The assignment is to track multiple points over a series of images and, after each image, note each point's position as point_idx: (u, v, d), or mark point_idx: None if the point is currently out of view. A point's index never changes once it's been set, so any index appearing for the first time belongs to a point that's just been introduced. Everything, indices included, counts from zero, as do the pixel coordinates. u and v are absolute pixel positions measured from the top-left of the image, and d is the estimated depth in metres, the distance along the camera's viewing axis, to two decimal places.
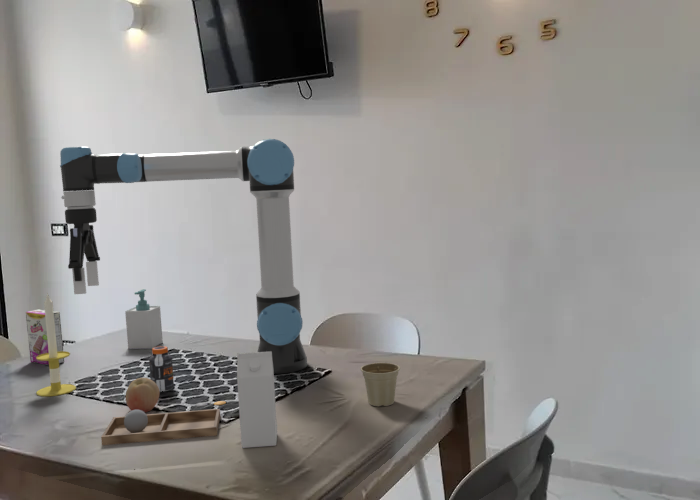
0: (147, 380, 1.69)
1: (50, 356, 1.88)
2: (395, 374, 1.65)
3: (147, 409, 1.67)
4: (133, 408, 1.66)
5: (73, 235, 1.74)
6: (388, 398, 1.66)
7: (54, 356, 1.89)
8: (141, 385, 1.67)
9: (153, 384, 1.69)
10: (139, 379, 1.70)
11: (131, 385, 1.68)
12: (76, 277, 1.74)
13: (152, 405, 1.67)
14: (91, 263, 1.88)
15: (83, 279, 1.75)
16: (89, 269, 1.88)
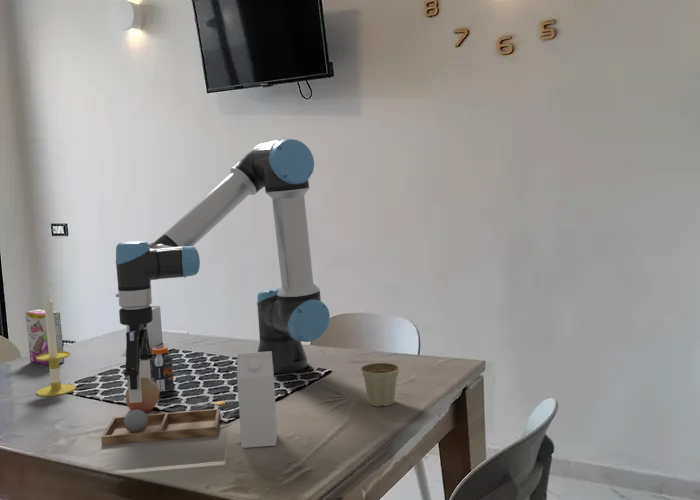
0: (147, 380, 1.69)
1: (50, 356, 1.88)
2: (395, 374, 1.65)
3: (147, 409, 1.67)
4: (133, 408, 1.66)
5: (129, 339, 1.61)
6: (388, 398, 1.66)
7: (54, 356, 1.89)
8: (141, 385, 1.67)
9: (153, 384, 1.69)
10: None
11: None
12: (132, 385, 1.61)
13: (152, 405, 1.67)
14: (144, 362, 1.75)
15: (139, 387, 1.62)
16: (141, 368, 1.75)
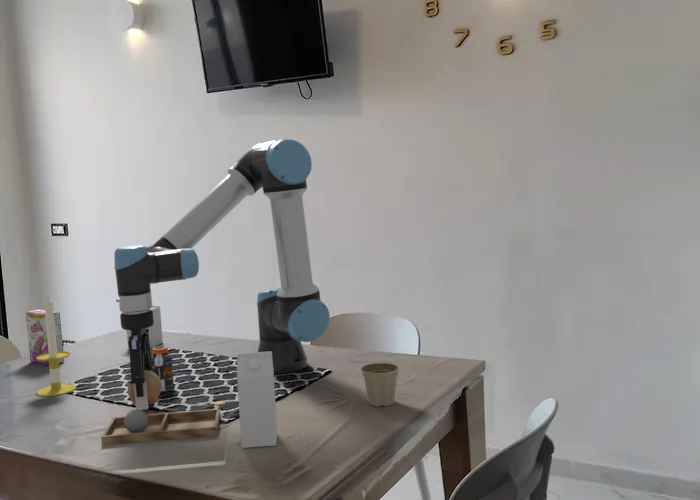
0: (149, 373, 1.69)
1: (50, 356, 1.88)
2: (395, 374, 1.65)
3: (149, 402, 1.67)
4: None
5: (132, 348, 1.62)
6: (388, 398, 1.66)
7: (54, 356, 1.89)
8: None
9: (155, 376, 1.69)
10: None
11: None
12: (138, 393, 1.64)
13: (154, 397, 1.67)
14: None
15: (145, 394, 1.65)
16: None
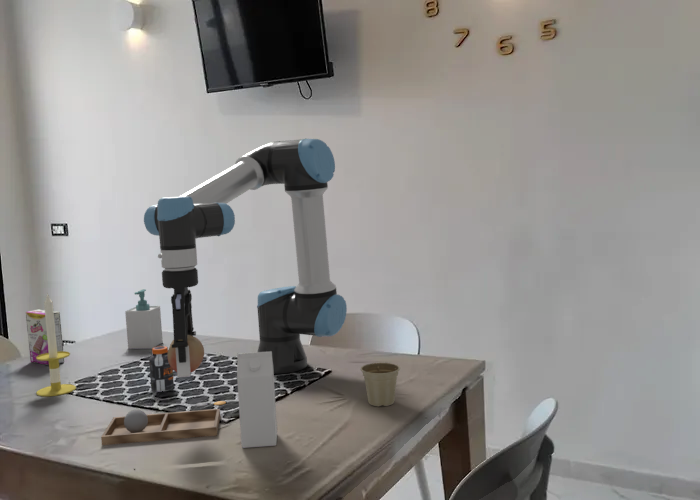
0: (191, 337, 1.53)
1: (50, 356, 1.88)
2: (395, 374, 1.65)
3: (191, 369, 1.51)
4: (176, 367, 1.51)
5: (176, 308, 1.46)
6: (388, 398, 1.66)
7: (54, 356, 1.89)
8: None
9: (198, 341, 1.53)
10: None
11: None
12: (180, 358, 1.48)
13: (197, 364, 1.52)
14: None
15: (188, 360, 1.49)
16: None
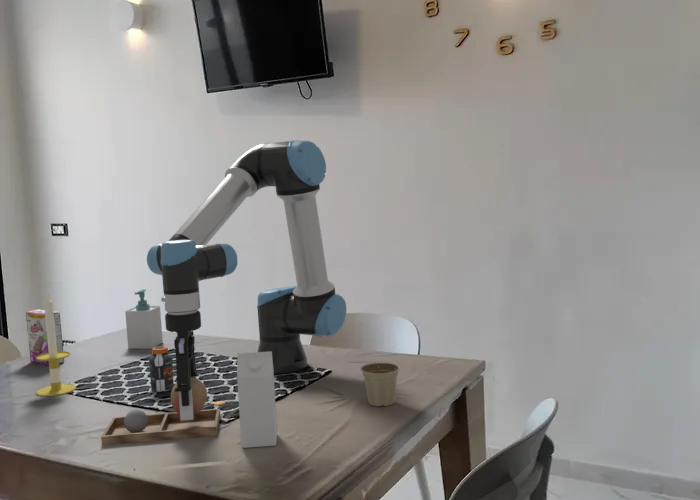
0: (194, 379, 1.54)
1: (50, 356, 1.88)
2: (395, 374, 1.65)
3: (194, 411, 1.52)
4: (179, 410, 1.52)
5: (179, 352, 1.47)
6: (388, 398, 1.66)
7: (54, 356, 1.89)
8: None
9: (200, 384, 1.54)
10: None
11: None
12: (184, 402, 1.49)
13: (199, 407, 1.53)
14: None
15: (191, 403, 1.50)
16: None
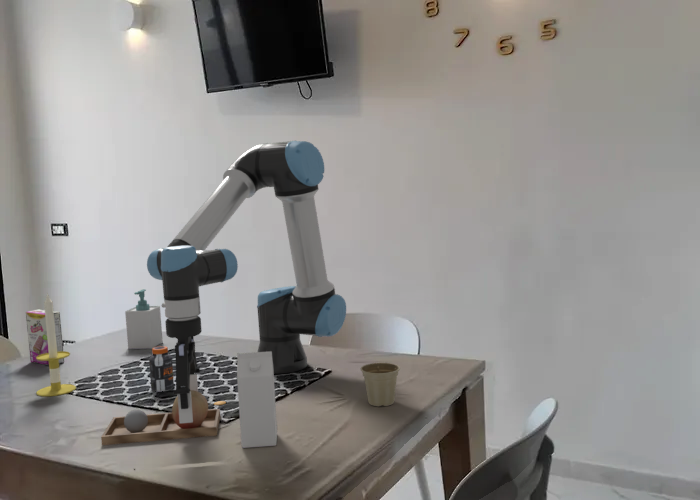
0: (195, 393, 1.55)
1: (50, 356, 1.88)
2: (395, 374, 1.65)
3: (196, 425, 1.53)
4: (181, 424, 1.52)
5: (179, 354, 1.47)
6: (388, 398, 1.66)
7: (54, 356, 1.89)
8: None
9: (202, 397, 1.55)
10: None
11: None
12: (183, 404, 1.47)
13: (201, 420, 1.53)
14: (191, 377, 1.61)
15: (190, 406, 1.48)
16: None
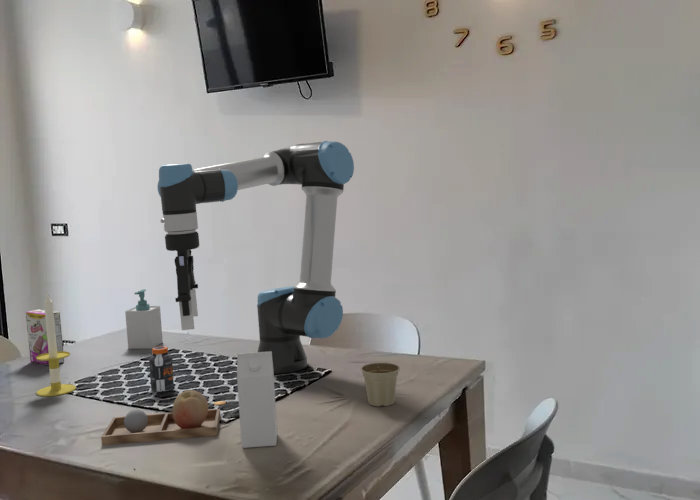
0: (195, 393, 1.55)
1: (50, 356, 1.88)
2: (395, 374, 1.65)
3: (196, 425, 1.53)
4: (181, 424, 1.52)
5: (179, 264, 1.55)
6: (388, 398, 1.66)
7: (54, 356, 1.89)
8: (190, 399, 1.53)
9: (202, 397, 1.55)
10: (186, 392, 1.56)
11: (178, 399, 1.54)
12: (184, 311, 1.55)
13: (201, 421, 1.53)
14: (189, 292, 1.69)
15: (192, 313, 1.56)
16: None
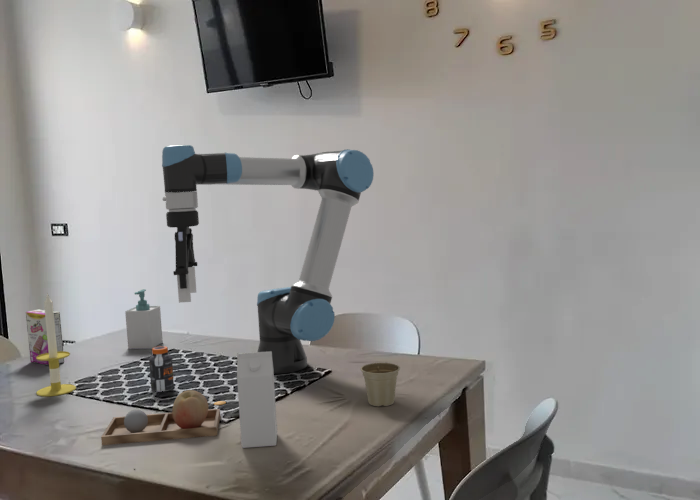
0: (195, 393, 1.55)
1: (50, 356, 1.88)
2: (395, 374, 1.65)
3: (196, 425, 1.53)
4: (181, 424, 1.52)
5: (178, 239, 1.63)
6: (388, 398, 1.66)
7: (54, 356, 1.89)
8: (190, 399, 1.53)
9: (202, 397, 1.55)
10: (186, 392, 1.56)
11: (178, 399, 1.54)
12: (182, 284, 1.63)
13: (201, 421, 1.53)
14: (189, 269, 1.77)
15: (189, 287, 1.64)
16: None
